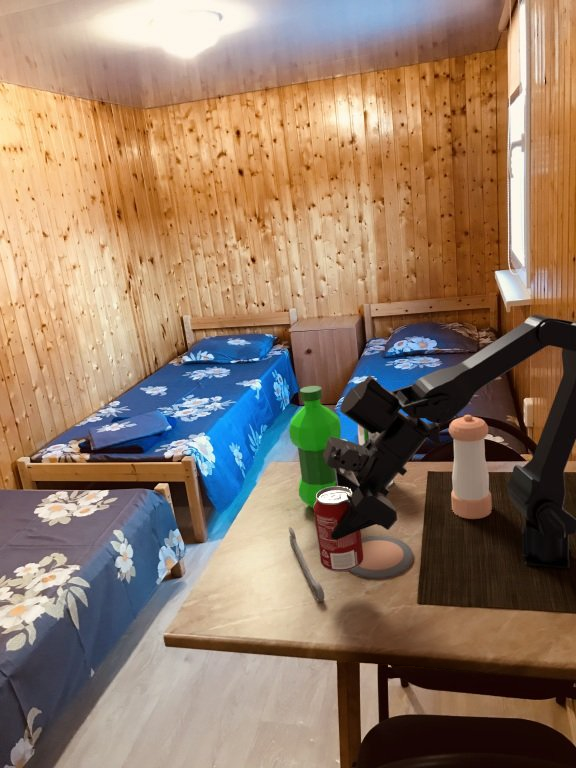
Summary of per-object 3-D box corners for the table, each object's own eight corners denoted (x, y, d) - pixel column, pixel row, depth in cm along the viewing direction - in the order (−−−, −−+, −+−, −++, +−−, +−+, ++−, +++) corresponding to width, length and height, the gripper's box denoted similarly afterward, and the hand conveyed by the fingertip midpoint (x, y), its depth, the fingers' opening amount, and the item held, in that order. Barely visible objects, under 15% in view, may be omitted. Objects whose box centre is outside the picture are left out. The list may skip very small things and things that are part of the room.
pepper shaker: (453, 519, 115) (448, 423, 110) (450, 500, 122) (445, 409, 117) (494, 518, 114) (491, 421, 108) (489, 499, 121) (486, 407, 115)
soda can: (362, 575, 93) (354, 504, 90) (318, 575, 95) (308, 505, 91) (365, 550, 100) (358, 483, 96) (324, 551, 101) (315, 484, 98)
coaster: (418, 542, 109) (417, 538, 109) (405, 582, 99) (405, 578, 99) (352, 536, 114) (352, 533, 114) (333, 574, 103) (333, 570, 103)
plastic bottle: (308, 491, 133) (294, 381, 126) (355, 494, 129) (344, 381, 122) (291, 514, 125) (275, 397, 117) (341, 518, 121) (328, 397, 113)
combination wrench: (323, 586, 95) (293, 523, 114) (315, 588, 95) (286, 524, 114) (325, 606, 97) (295, 540, 115) (317, 608, 96) (289, 542, 115)
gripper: (339, 401, 100) (281, 474, 102) (366, 443, 82) (294, 530, 84) (391, 438, 103) (333, 508, 105) (427, 486, 85) (357, 570, 87)
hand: (328, 526), depth 95 cm, fingers closed on soda can, 6 cm apart
